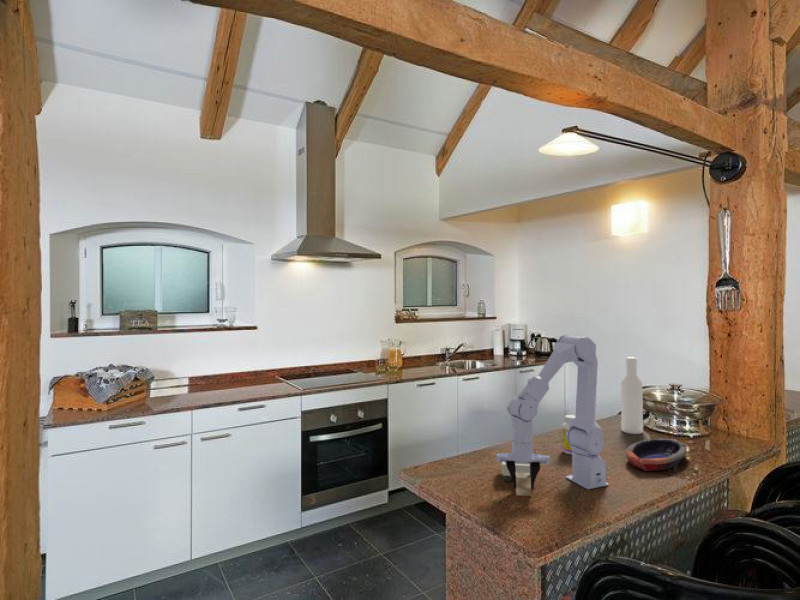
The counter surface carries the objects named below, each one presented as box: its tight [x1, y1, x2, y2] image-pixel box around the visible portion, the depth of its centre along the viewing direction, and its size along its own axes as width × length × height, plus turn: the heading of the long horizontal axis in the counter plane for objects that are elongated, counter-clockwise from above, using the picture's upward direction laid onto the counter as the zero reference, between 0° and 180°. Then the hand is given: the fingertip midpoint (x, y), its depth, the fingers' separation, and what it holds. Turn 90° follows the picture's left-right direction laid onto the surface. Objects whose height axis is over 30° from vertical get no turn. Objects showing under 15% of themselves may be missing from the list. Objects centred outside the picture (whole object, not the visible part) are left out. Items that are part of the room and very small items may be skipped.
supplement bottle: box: [562, 414, 576, 456], centre depth 167 cm, size 7×7×13 cm
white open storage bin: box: [500, 462, 538, 482], centre depth 145 cm, size 10×9×5 cm
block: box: [514, 472, 532, 497], centre depth 134 cm, size 4×4×5 cm
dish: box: [625, 438, 687, 472], centre depth 157 cm, size 16×31×5 cm, turn 129°
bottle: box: [620, 356, 644, 435], centre depth 190 cm, size 8×8×30 cm
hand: (523, 487), depth 134 cm, fingers closed on block, 4 cm apart
